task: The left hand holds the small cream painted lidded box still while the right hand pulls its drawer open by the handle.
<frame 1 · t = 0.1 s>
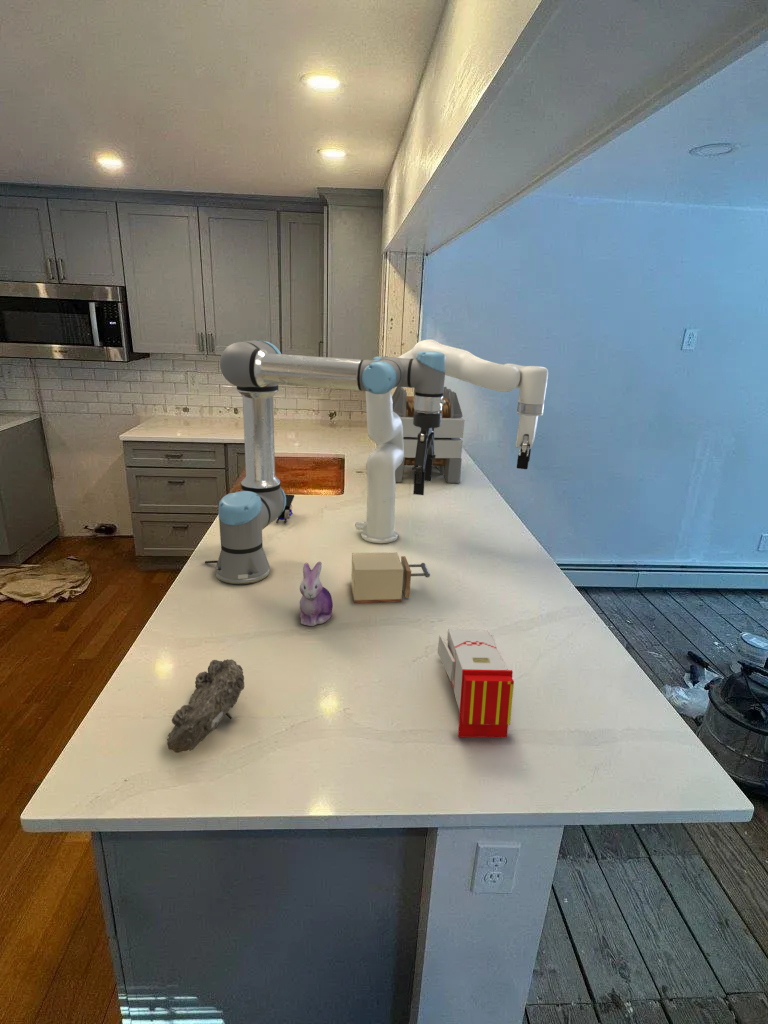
left hand: (422, 487, 159), 28 cm above the counter, tool pointing down, fingers open, 13 cm apart
right hand: (523, 464, 174), 31 cm above the counter, tool pointing down, fingers open, 9 cm apart
lidded box: (375, 592, 158), on the counter
fossil: (212, 717, 108), on the counter
drawer: (396, 576, 157), point 5 cm above the counter, slide at 1.1 cm
figurine character: (283, 518, 209), on the counter
toy: (469, 691, 119), on the counter
figurine: (315, 618, 144), on the counter
transformer: (419, 473, 275), on the counter
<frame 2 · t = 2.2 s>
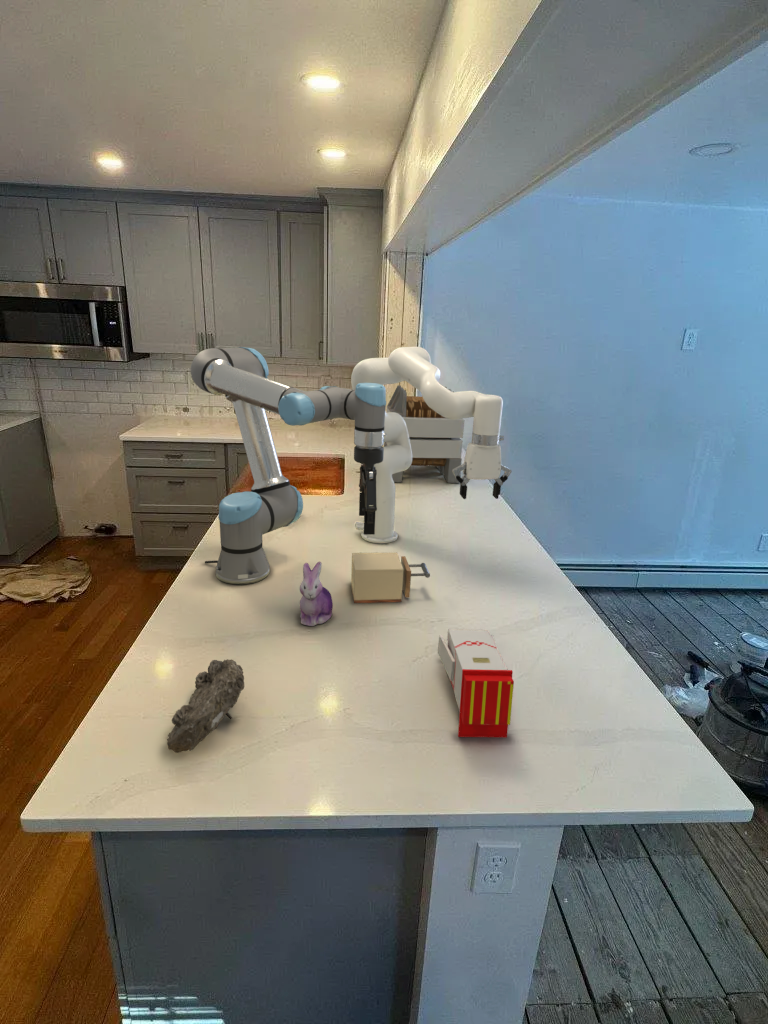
left hand: (366, 524, 150), 21 cm above the counter, tool pointing down, fingers open, 13 cm apart
right hand: (479, 497, 165), 24 cm above the counter, tool pointing down, fingers open, 9 cm apart
nothing on the counter moved.
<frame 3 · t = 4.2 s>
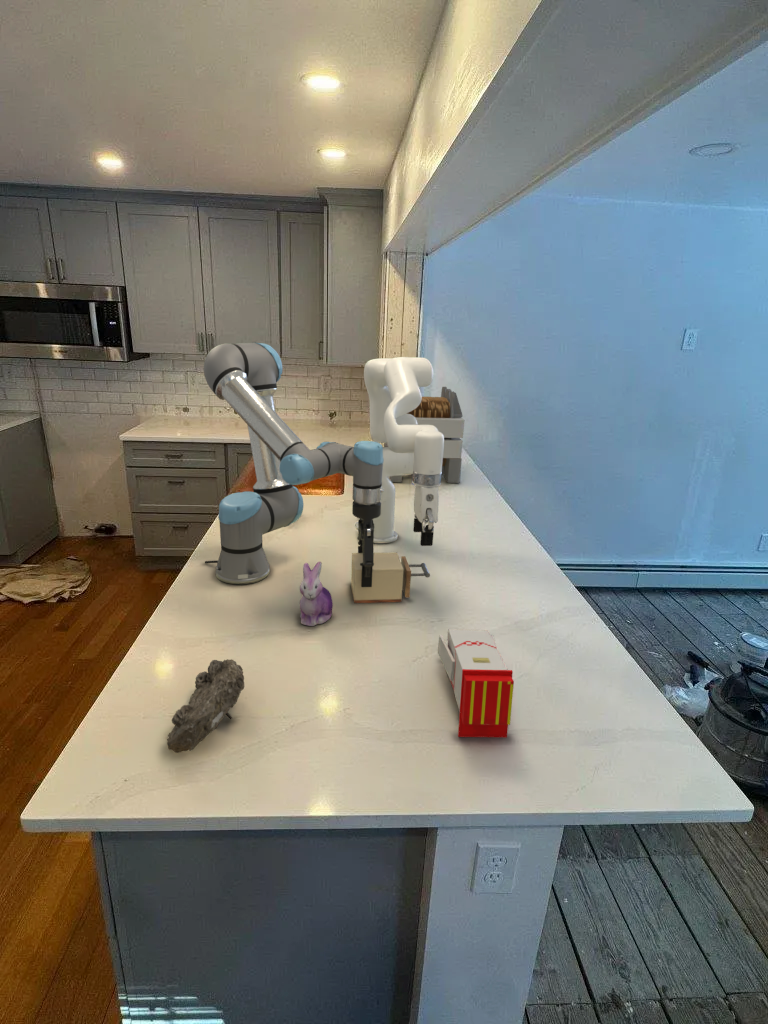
left hand: (364, 576, 156), 5 cm above the counter, tool pointing down, fingers closed on lidded box, 11 cm apart
right hand: (422, 538, 154), 16 cm above the counter, tool pointing down, fingers open, 9 cm apart
lidded box: (375, 592, 158), on the counter, touching left hand
everything else where it was.
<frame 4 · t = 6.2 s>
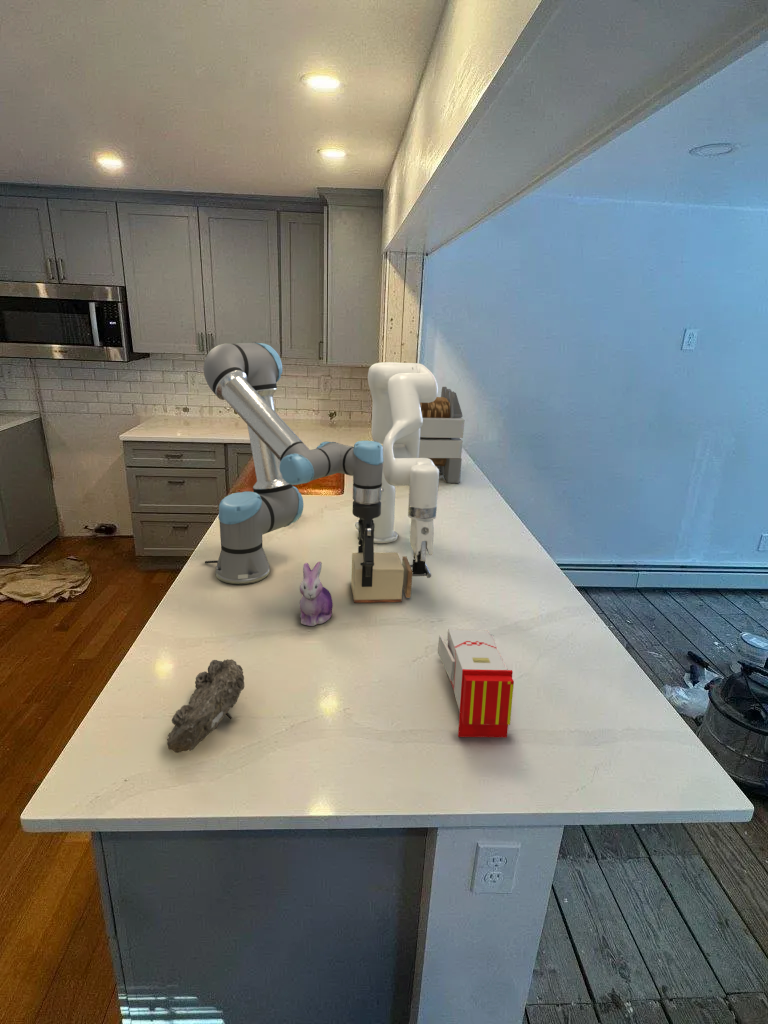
left hand: (364, 576, 156), 5 cm above the counter, tool pointing down, fingers closed on lidded box, 11 cm apart
right hand: (418, 573, 157), 6 cm above the counter, tool pointing down, fingers closed
lidded box: (375, 592, 158), on the counter, touching left hand
everything else where it was.
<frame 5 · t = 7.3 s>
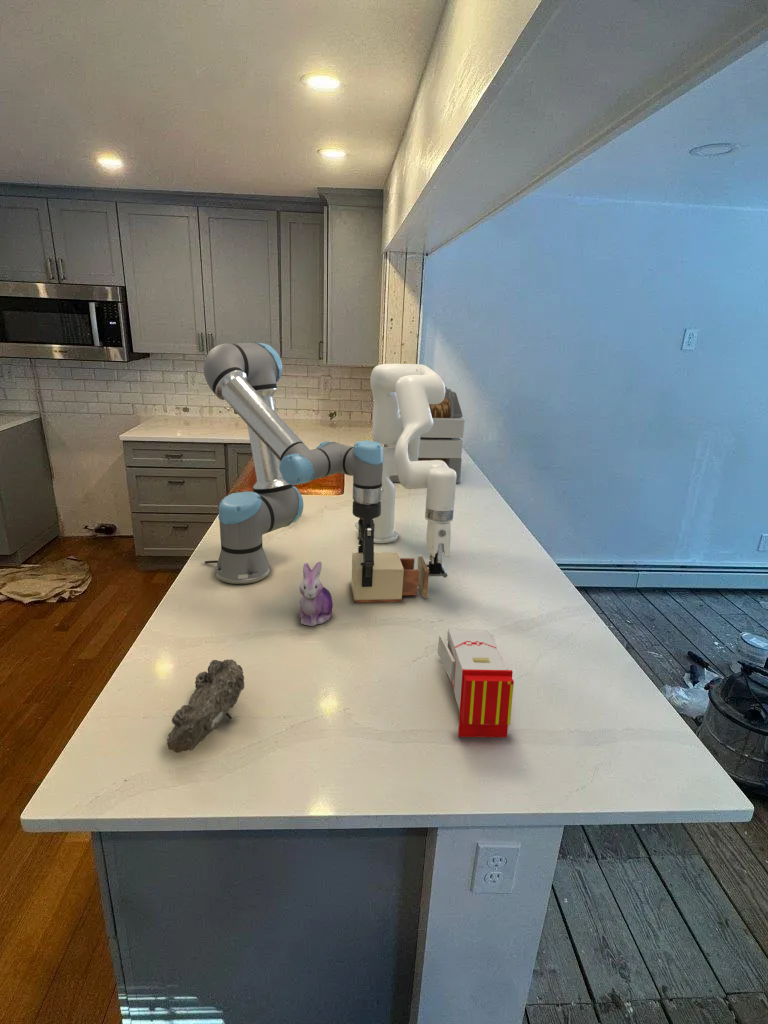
left hand: (364, 576, 156), 5 cm above the counter, tool pointing down, fingers closed on lidded box, 11 cm apart
right hand: (434, 574, 158), 5 cm above the counter, tool pointing down, fingers closed
lidded box: (375, 592, 158), on the counter, touching left hand
drawer: (414, 576, 158), point 5 cm above the counter, slide at 5.9 cm, touching right hand
everything else where it was.
when the left hand's fingers open (5 cm above the counter, at t = 9.1 s): lidded box stays where it is, on the counter.
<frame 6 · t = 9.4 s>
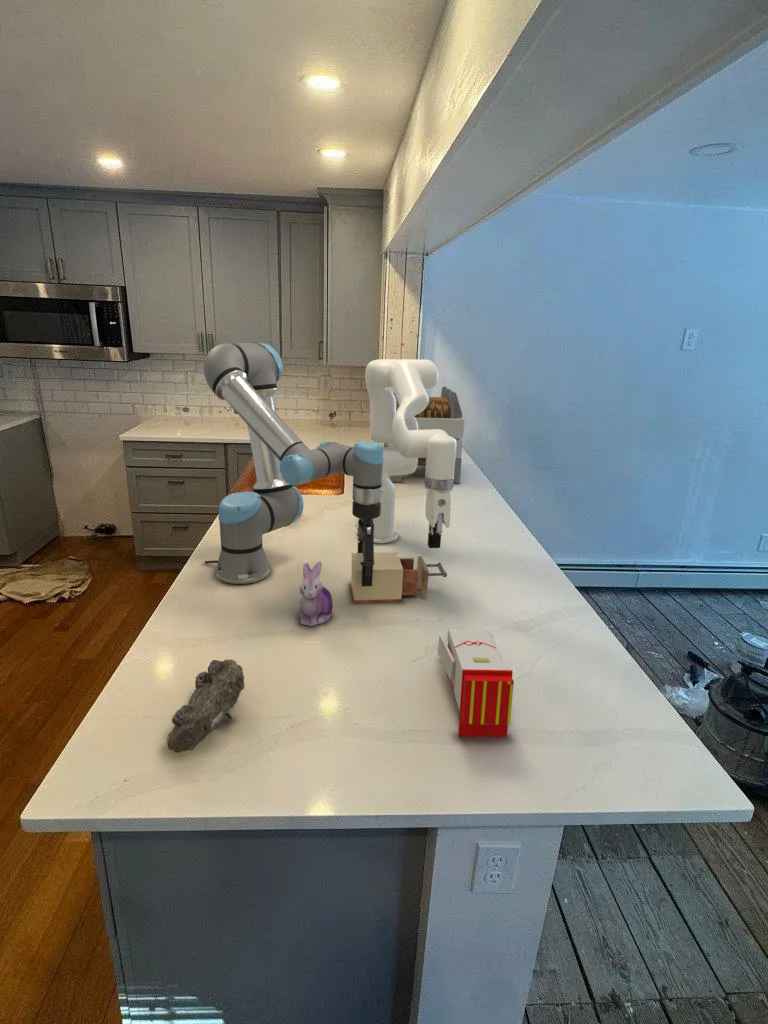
left hand: (364, 574, 155), 6 cm above the counter, tool pointing down, fingers open, 13 cm apart
right hand: (433, 546, 155), 14 cm above the counter, tool pointing down, fingers closed
lidded box: (375, 592, 158), on the counter
drawer: (413, 576, 158), point 5 cm above the counter, slide at 5.9 cm
everything else where it was.
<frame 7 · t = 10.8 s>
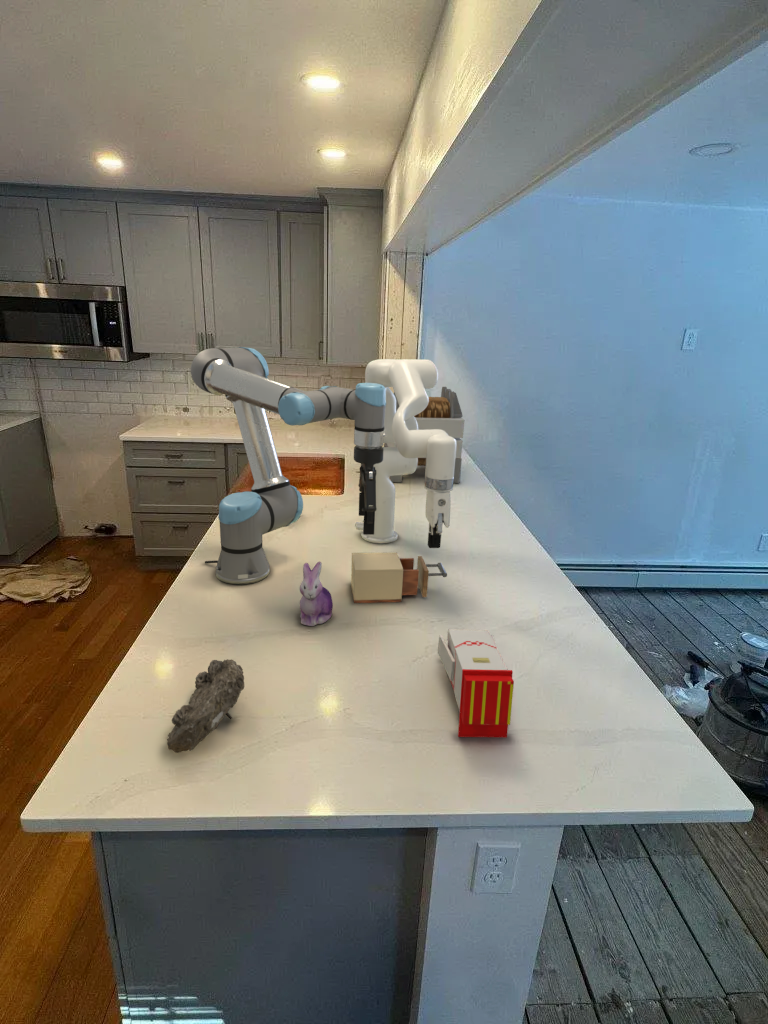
left hand: (365, 524, 150), 21 cm above the counter, tool pointing down, fingers open, 13 cm apart
right hand: (433, 546, 155), 14 cm above the counter, tool pointing down, fingers closed
nothing on the counter moved.
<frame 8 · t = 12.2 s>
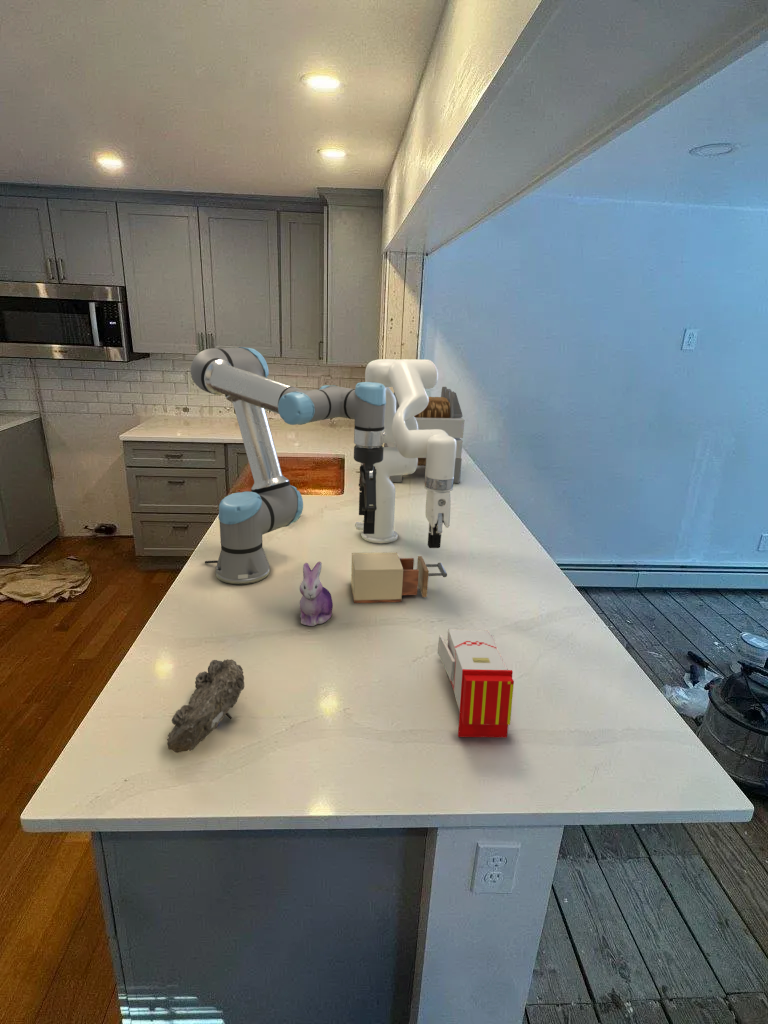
left hand: (366, 523, 150), 21 cm above the counter, tool pointing down, fingers open, 13 cm apart
right hand: (433, 546, 155), 14 cm above the counter, tool pointing down, fingers closed
nothing on the counter moved.
at the end: drawer slide at 5.9 cm; lidded box tilted 0°; lidded box never tilted more than 1° during the clip; lidded box moved 0.0 cm from its start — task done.
